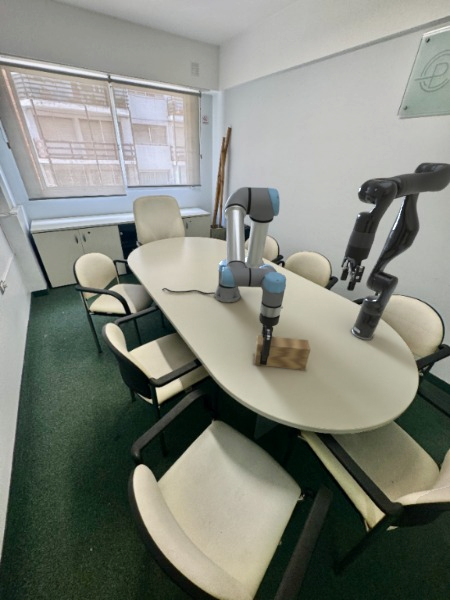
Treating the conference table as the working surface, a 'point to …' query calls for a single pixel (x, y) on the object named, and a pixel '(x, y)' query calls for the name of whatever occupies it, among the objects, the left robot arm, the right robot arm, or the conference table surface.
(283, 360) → the box
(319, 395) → the conference table surface
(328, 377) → the conference table surface
